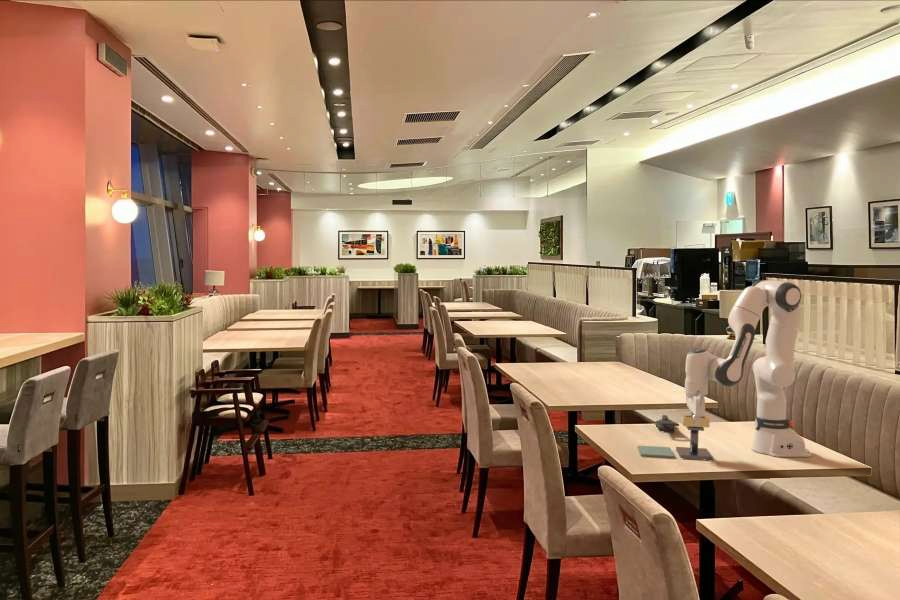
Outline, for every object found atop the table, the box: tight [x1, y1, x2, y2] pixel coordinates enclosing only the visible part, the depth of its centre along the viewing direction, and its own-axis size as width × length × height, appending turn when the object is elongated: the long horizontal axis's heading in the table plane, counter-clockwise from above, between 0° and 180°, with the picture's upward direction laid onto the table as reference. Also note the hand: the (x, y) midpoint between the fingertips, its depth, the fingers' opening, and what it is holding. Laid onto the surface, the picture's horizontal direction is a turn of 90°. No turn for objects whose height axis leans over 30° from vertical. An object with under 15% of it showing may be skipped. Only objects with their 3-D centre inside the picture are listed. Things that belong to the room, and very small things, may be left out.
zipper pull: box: [654, 414, 680, 433], centre depth 317 cm, size 9×7×25 cm
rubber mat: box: [637, 445, 676, 459], centre depth 280 cm, size 13×13×1 cm
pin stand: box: [675, 415, 713, 461], centre depth 277 cm, size 12×12×16 cm
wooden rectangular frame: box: [680, 414, 710, 428], centre depth 277 cm, size 10×5×4 cm, turn 80°
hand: (695, 422), depth 277 cm, fingers closed on wooden rectangular frame, 5 cm apart
